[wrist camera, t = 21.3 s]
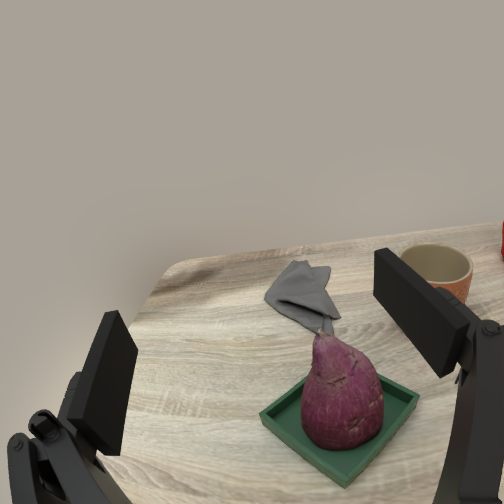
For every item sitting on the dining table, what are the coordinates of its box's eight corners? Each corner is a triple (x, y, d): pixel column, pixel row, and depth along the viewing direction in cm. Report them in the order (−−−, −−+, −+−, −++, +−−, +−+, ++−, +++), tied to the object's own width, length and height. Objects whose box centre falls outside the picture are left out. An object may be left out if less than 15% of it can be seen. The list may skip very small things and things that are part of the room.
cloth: (270, 264, 69) (268, 256, 68) (330, 258, 66) (329, 249, 65) (256, 345, 46) (254, 335, 45) (344, 339, 43) (344, 328, 42)
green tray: (344, 489, 22) (346, 482, 21) (262, 423, 33) (258, 413, 32) (416, 406, 29) (420, 394, 28) (335, 362, 40) (335, 350, 38)
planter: (470, 337, 35) (487, 277, 31) (399, 350, 38) (408, 288, 34) (446, 292, 46) (454, 238, 42) (385, 300, 49) (387, 244, 44)
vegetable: (291, 435, 33) (235, 360, 28) (340, 380, 38) (302, 297, 33) (355, 470, 24) (313, 398, 20) (404, 401, 29) (382, 309, 25)
